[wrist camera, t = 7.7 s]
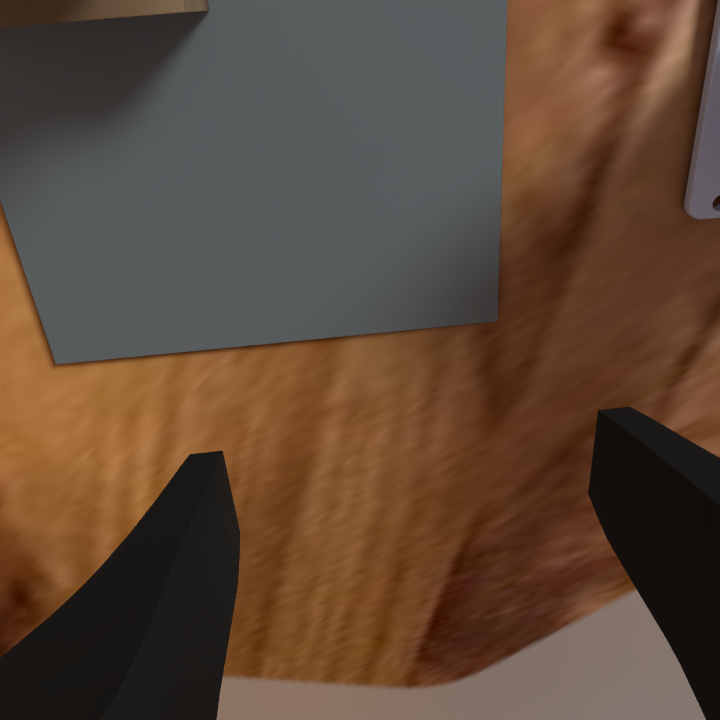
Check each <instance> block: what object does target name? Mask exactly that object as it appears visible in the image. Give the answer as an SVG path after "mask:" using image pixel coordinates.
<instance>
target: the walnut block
mask: <svg viewBox="0 0 720 720" xmlns="http://www.w3.org/2000/svg"><path fill="white" fill-rule="evenodd" d="M199 11H210V10H209V3H208V0H0V28H7V27H19V26H31V25H43V24H55V23H67V22H79V21H91V20H103V19H115V18H127V17H139V16H151V15H163V14H175V13H187V12H199Z"/></svg>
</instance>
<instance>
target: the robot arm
mask: <svg viewBox="0 0 720 720" xmlns="http://www.w3.org/2000/svg"><path fill="white" fill-rule="evenodd" d="M719 195H720V0H718V2H717V8H716V15H715V21H714V27H713V33H712V39H711V45H710V51H709V57H708V63H707V69H706V75H705V81H704V87H703V93H702V99H701V105H700V111H699V117H698V123H697V129H696V135H695V141H694V147H693V153H692V159H691V165H690V171H689V177H688V183H687V189H686V195H685V201H684V209H685V211H686V213H687V214H689V215H690V216H692V217H694V218H696V219H711V218H720V204H719V205H718V206H717V207H714V208H713V201H714V199H715V198H716V197H717V196H719ZM588 494H589V497H590V499H591V502H592V504H593V507H594V509H595V512H596V514H597V517H598V519H599V521H600V524H601V526H602V528H603V530H604V533H605V535H606V537H607V539H608V541H609V543H610V545H611V546H612V548H613V550H614V552H615V553H616V555H617V557H618V558H619V560H620V562H621V564H622V565H623V567H624V569H625V570H626V572H627V574H628V575H629V577H630V579H631V580H632V582H633V584H634V585H635V587H636V589H637V590H638V592H639V594H640V595H641V597H642V599H643V600H644V602H645V604H646V605H647V607H648V609H649V610H650V612H651V614H652V615H653V617H654V619H655V620H656V622H657V624H658V625H659V627H660V629H661V631H662V632H663V634H664V636H665V637H666V639H667V640H668V642H669V644H670V646H671V648H672V650H673V652H674V653H675V655H676V657H677V659H678V661H679V663H680V665H681V667H682V669H683V671H684V673H685V675H686V677H687V679H688V682H689V684H690V686H691V688H692V690H693V692H694V695H695V697H696V699H697V701H698V703H699V705H700V707H701V709H702V712H703V714H704V716H705V718H706V720H720V458H719V457H717V456H715V455H714V454H712V453H710V452H708V451H706V450H705V449H703V448H701V447H700V446H698V445H696V444H694V443H693V442H691V441H689V440H687V439H686V438H684V437H682V436H681V435H679V434H677V433H676V432H674V431H672V430H670V429H669V428H667V427H665V426H664V425H662V424H660V423H658V422H657V421H655V420H653V419H651V418H650V417H648V416H646V415H644V414H642V413H640V412H639V411H637V410H635V409H633V408H631V407H624V408H615V409H605V410H598V416H597V424H596V433H595V441H594V450H593V458H592V467H591V475H590V484H589V492H588ZM239 552H240V530H239V525H238V521H237V516H236V511H235V507H234V502H233V497H232V493H231V488H230V483H229V479H228V474H227V469H226V465H225V460H224V455H223V451H216V452H207V453H198V454H190V455H189V456H188V457H187V459H186V460H185V461H184V462H183V464H182V465H181V466H180V468H179V469H178V471H177V472H176V473H175V475H174V476H173V477H172V479H171V480H170V482H169V483H168V484H167V486H166V487H165V488H164V490H163V491H162V492H161V494H160V495H159V497H158V498H157V499H156V501H155V502H154V503H153V505H152V506H151V507H150V508H149V510H148V511H147V512H146V513H145V515H144V516H143V517H142V519H141V520H140V521H139V522H138V524H137V525H136V526H135V527H134V529H133V530H132V531H131V532H130V534H129V535H128V536H127V537H126V538H125V540H124V541H123V542H122V543H121V544H120V545H119V546H118V548H117V549H116V550H115V551H114V552H113V553H112V554H111V556H110V557H109V558H108V559H107V560H106V561H105V562H104V564H103V565H102V566H101V567H100V568H99V569H98V570H97V571H96V572H95V573H94V574H93V576H92V577H91V578H90V579H89V580H88V581H87V582H86V583H85V584H84V585H83V586H82V587H81V588H80V589H79V590H78V591H77V592H76V593H75V594H74V595H73V596H71V597H70V598H69V599H68V600H67V601H66V602H65V603H64V604H63V605H62V606H61V607H60V608H59V609H58V610H57V611H56V612H54V613H53V614H52V615H51V616H50V617H49V618H48V619H46V620H45V621H44V622H43V623H42V624H40V625H39V626H38V627H37V628H36V629H35V630H33V631H32V632H31V633H30V634H29V635H27V636H26V637H25V638H24V639H23V640H21V641H20V642H19V643H18V644H17V645H16V646H14V647H13V648H12V649H11V650H10V651H8V652H7V653H6V654H5V655H3V656H2V657H1V658H0V720H216V718H217V710H218V702H219V694H220V688H221V682H222V677H223V671H224V665H225V659H226V653H227V647H228V641H229V635H230V629H231V623H232V617H233V611H234V605H235V599H236V593H237V586H238V575H239Z"/></svg>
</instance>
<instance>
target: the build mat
mask: <svg viewBox="0 0 720 720" xmlns="http://www.w3.org/2000/svg"><path fill="white" fill-rule="evenodd" d="M208 3H209V10H210V11H199V12H187V13H175V14H163V15H151V16H139V17H127V18H115V19H103V20H91V21H79V22H67V23H55V24H43V25H31V26H19V27H7V28H0V201H1V204H2V207H3V210H4V213H5V216H6V219H7V222H8V225H9V228H10V231H11V233H12V236H13V239H14V242H15V245H16V248H17V251H18V254H19V257H20V260H21V263H22V266H23V269H24V272H25V275H26V278H27V281H28V283H29V286H30V289H31V292H32V295H33V298H34V301H35V304H36V307H37V310H38V313H39V316H40V319H41V322H42V325H43V328H44V331H45V333H46V336H47V339H48V342H49V345H50V348H51V351H52V354H53V357H54V360H55V363H56V364H65V363H76V362H86V361H96V360H106V359H117V358H127V357H137V356H147V355H158V354H168V353H178V352H188V351H199V350H209V349H219V348H230V347H240V346H250V345H260V344H271V343H281V342H291V341H301V340H312V339H322V338H332V337H342V336H353V335H363V334H373V333H383V332H394V331H404V330H414V329H424V328H435V327H445V326H455V325H465V324H476V323H486V322H496V321H498V289H499V256H500V223H501V190H502V157H503V124H504V91H505V58H506V25H507V0H208Z"/></svg>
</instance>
